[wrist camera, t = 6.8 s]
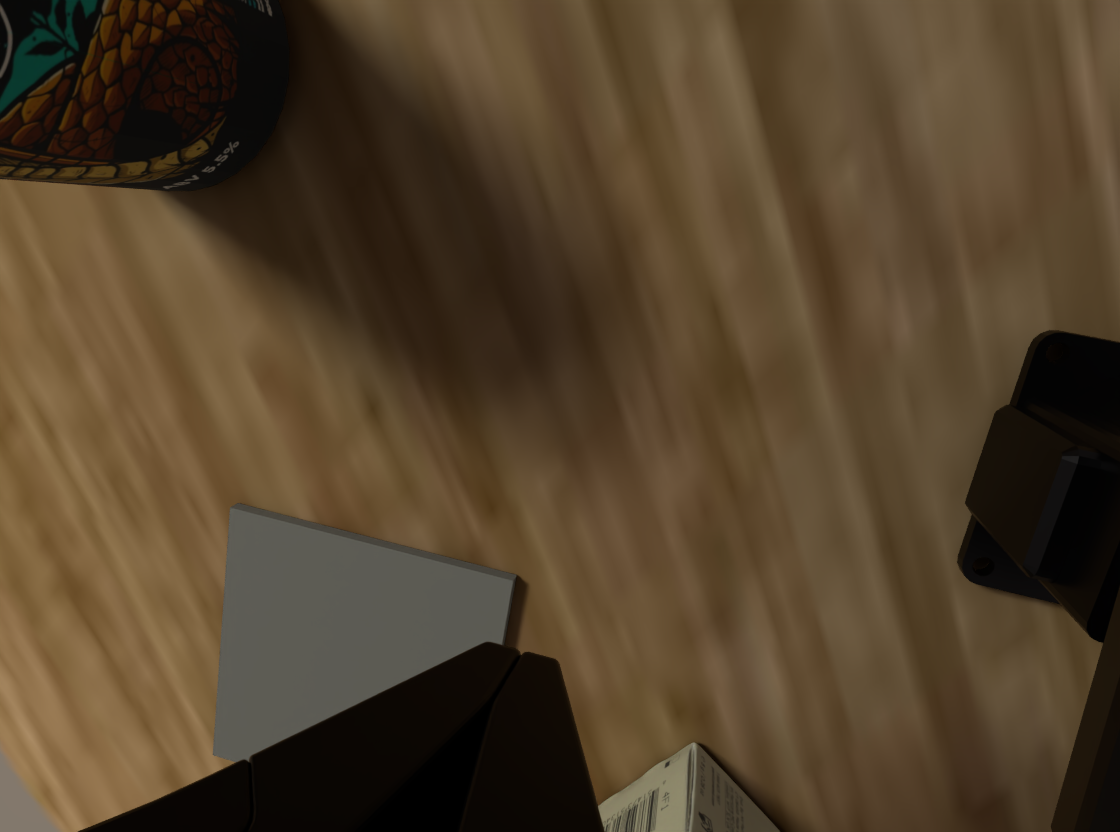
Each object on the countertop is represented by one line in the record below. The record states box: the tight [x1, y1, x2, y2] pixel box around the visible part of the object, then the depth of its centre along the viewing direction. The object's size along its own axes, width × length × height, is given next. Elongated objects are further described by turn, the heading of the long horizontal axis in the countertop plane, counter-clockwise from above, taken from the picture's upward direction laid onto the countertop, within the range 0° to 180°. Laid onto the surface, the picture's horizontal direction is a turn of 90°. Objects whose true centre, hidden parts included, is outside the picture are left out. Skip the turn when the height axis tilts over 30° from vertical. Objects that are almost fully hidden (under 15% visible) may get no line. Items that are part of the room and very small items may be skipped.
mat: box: [213, 503, 517, 762], centre depth 25 cm, size 9×9×1 cm
